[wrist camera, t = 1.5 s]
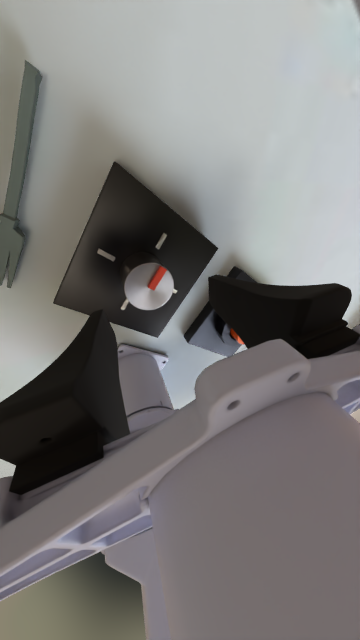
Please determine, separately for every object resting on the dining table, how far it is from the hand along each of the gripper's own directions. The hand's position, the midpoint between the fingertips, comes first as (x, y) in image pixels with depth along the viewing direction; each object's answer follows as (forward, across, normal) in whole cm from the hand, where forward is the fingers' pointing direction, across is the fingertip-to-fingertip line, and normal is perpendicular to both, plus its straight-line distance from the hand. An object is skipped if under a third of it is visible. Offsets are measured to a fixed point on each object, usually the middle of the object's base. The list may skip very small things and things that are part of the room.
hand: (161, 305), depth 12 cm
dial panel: (+10, 0, 0) cm, 10 cm away
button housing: (+9, -11, +11) cm, 18 cm away
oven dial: (+6, 0, 0) cm, 6 cm away
